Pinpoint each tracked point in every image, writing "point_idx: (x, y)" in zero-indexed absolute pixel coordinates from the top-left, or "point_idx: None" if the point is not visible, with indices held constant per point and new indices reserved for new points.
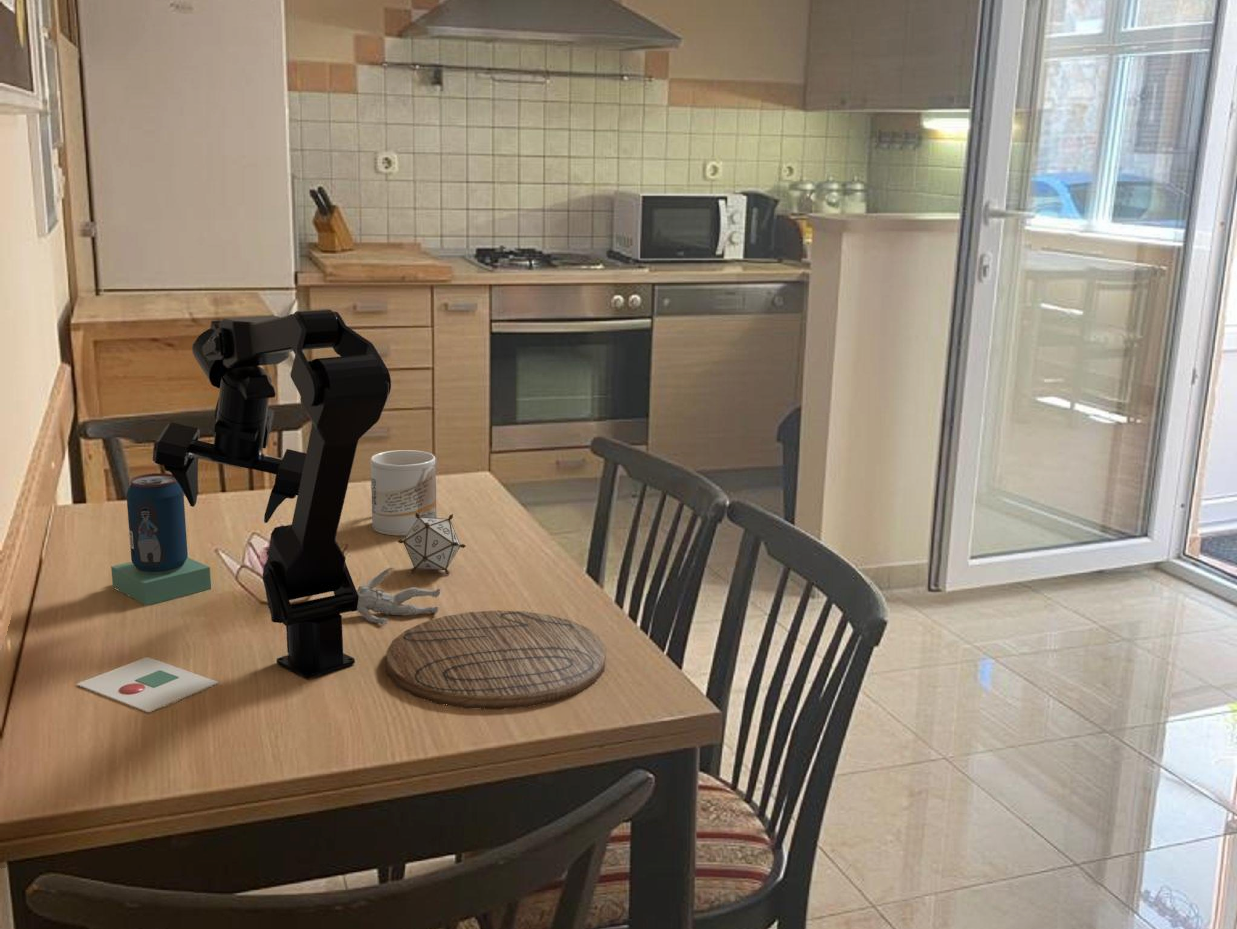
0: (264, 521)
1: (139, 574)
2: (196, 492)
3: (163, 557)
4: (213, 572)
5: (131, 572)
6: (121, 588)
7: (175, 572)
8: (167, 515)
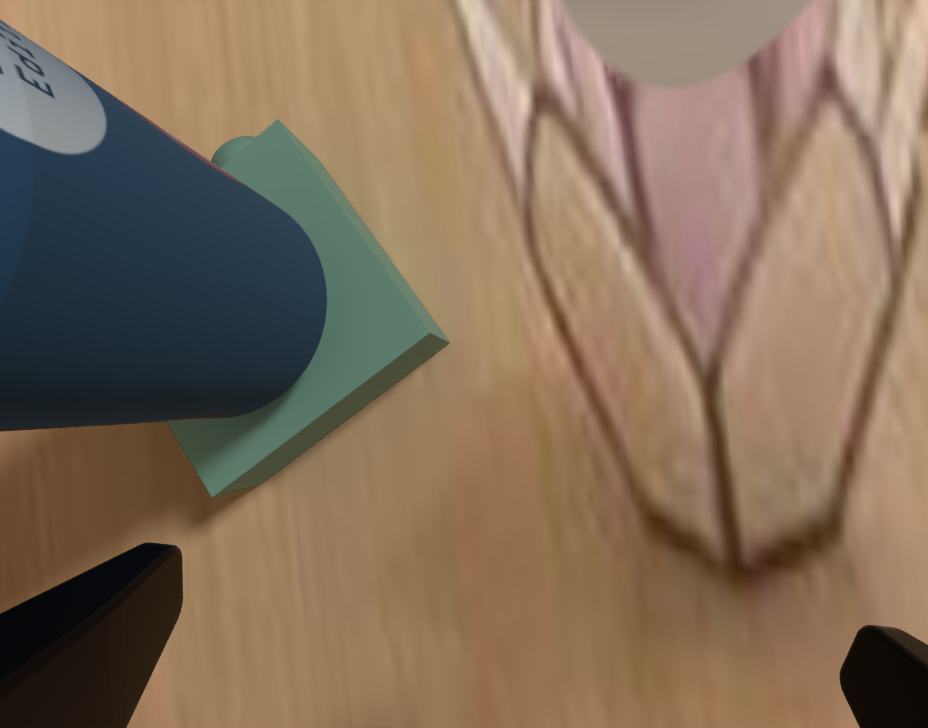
0: (854, 713)
1: None
2: (84, 683)
3: (224, 415)
4: (440, 163)
5: None
6: None
7: (305, 384)
8: (73, 402)
